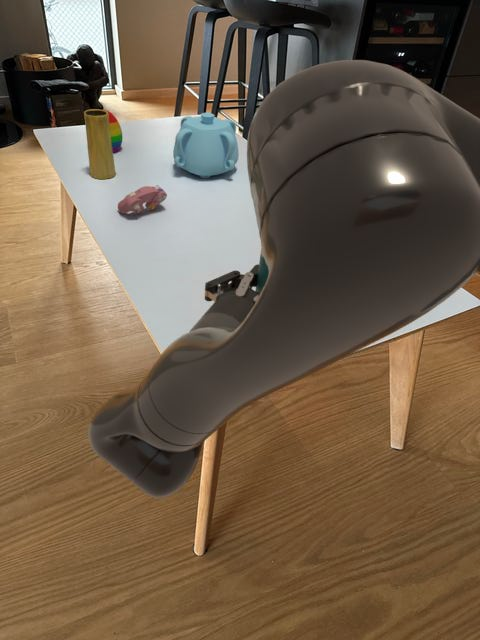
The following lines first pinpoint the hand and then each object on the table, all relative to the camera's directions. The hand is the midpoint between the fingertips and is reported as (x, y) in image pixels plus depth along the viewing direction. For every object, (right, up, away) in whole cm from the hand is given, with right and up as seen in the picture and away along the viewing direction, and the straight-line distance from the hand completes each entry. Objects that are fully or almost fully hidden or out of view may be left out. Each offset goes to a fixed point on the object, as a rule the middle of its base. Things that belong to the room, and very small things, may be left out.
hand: (275, 272), depth 68 cm
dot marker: (-2, -7, +3) cm, 8 cm away
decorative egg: (-41, +39, +57) cm, 80 cm away
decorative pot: (-14, +32, +52) cm, 63 cm away
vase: (-38, +28, +45) cm, 65 cm away
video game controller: (-26, +16, +32) cm, 44 cm away
